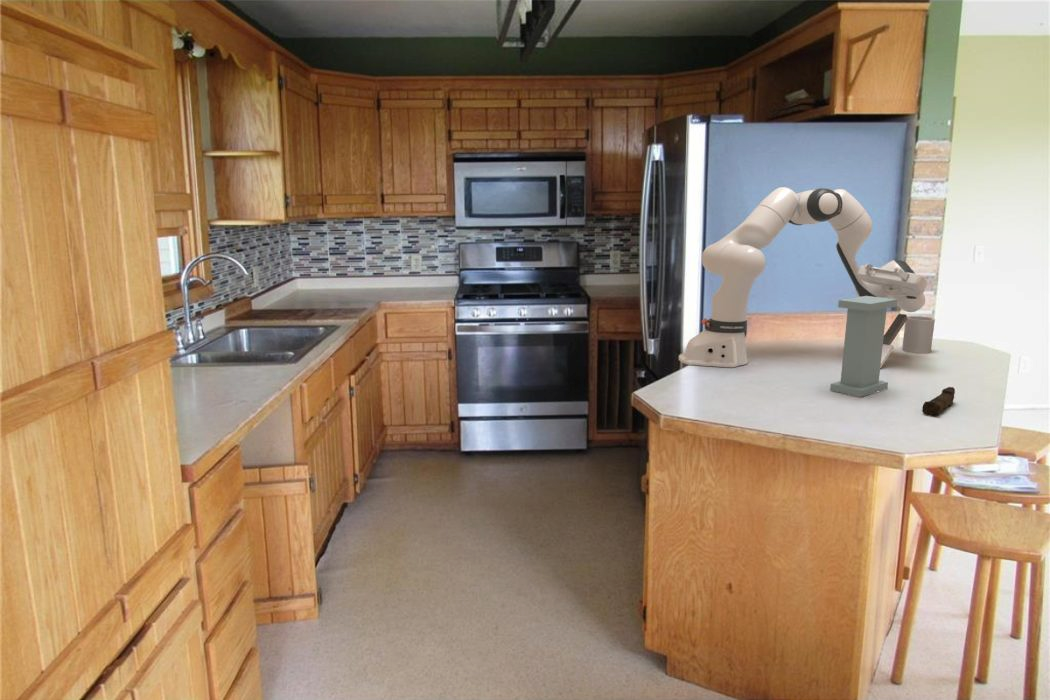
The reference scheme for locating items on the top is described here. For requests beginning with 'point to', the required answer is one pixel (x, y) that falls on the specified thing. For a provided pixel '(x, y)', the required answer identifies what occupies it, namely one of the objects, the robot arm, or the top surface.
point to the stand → (863, 345)
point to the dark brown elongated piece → (939, 402)
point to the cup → (918, 334)
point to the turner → (892, 336)
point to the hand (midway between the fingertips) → (881, 268)
